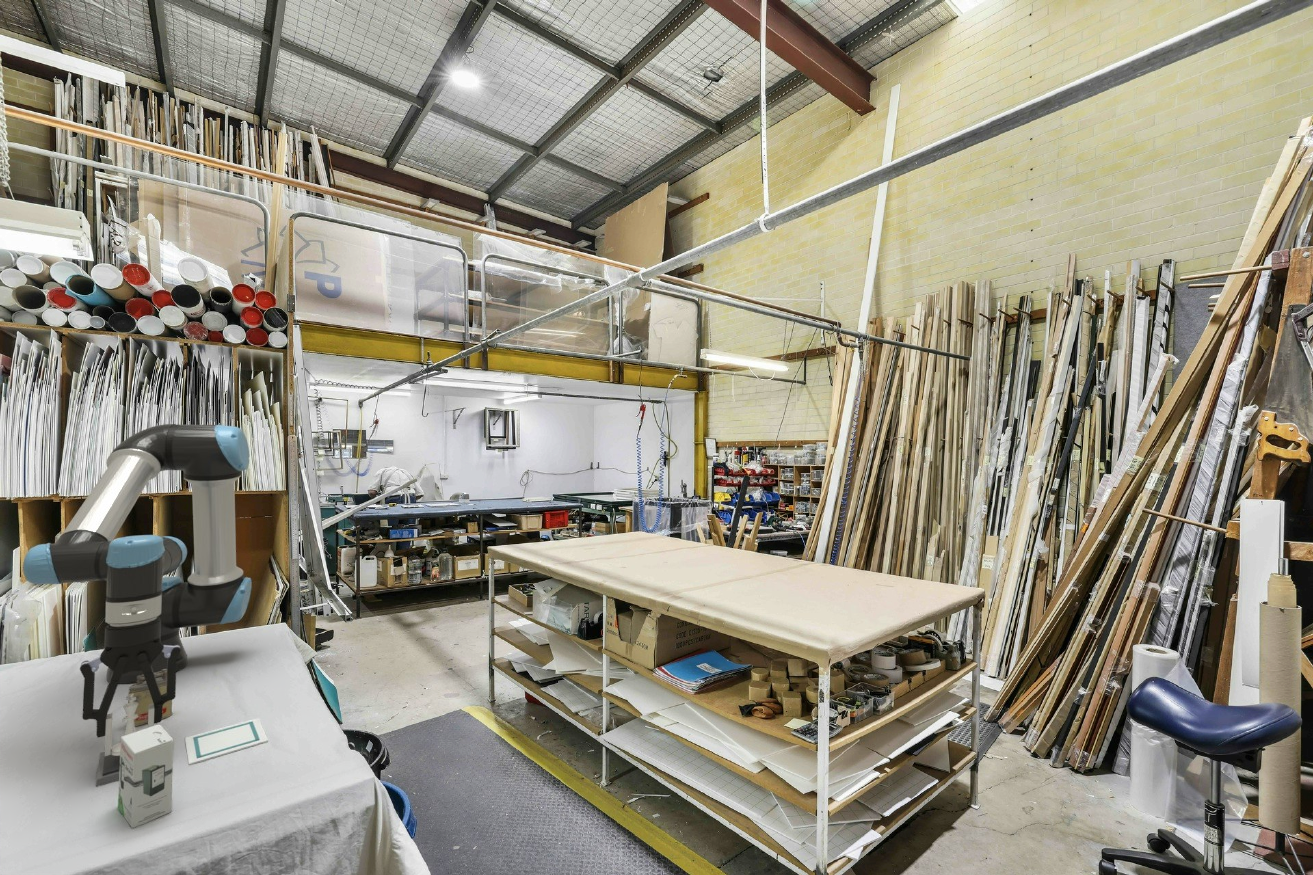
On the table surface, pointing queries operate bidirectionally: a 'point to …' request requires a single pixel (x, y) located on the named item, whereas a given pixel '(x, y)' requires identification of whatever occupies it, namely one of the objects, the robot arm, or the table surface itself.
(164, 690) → the lighter
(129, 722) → the chess piece
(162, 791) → the ink box
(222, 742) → the print card
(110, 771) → the ink pad
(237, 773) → the table surface
